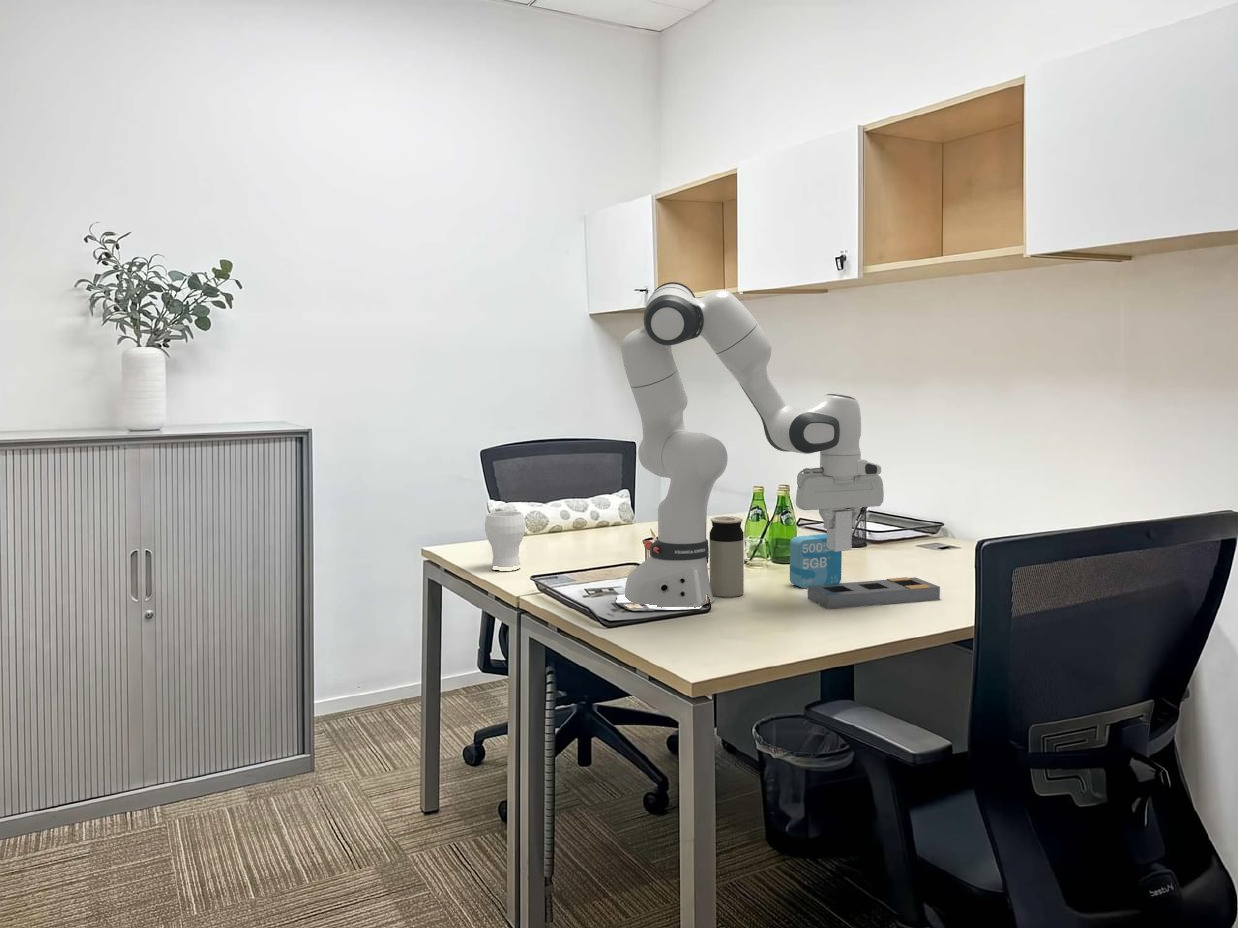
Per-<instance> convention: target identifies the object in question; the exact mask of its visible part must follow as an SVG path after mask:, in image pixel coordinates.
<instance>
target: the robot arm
mask: <svg viewBox="0 0 1238 928" xmlns="http://www.w3.org/2000/svg"><path fill="white" fill-rule="evenodd" d="M755 318H756V317H754V315H753V314H752V313H751V312H750V311H749V310H748V308H747V307H746V306H745V305H744V304H743V303H742V302H741V301H740V300H739V299H738V298H737V297H736V296H735V295H734V294H732V292H730V291H728V290H725V289H718V290H713V291H711V292H709V293H707V294H706V295H704V296H703V297H696V296H695V294H694V292H693V290H691V289H690V288H689V287H688V286H686V284H683V283H681V282H677V281H671V282H666V283H665V282H664V283H663V284H661V285H659V286H658V287H657V288H655V290H654V291H653V292H652V294H651V295H650V296H649V298H648V300H647V302H646V304H645V310H644V313H643V321H642V322H643V326H641V327H640V328H637V329H635V330H632V331H631V332H630V333H628V334H627V335H626V336H625V337H624V338H623V340H622V342H621V346H620V350H621V357H622V361H623V366H624V370H625V374H626V378H627V380H628V384H629V386H630V390H631V391H632V392H631V393H632V395H633V397H634V401H635V403H636V406H637V409H638V412H639V415H640V416H639V417H640V420H641V425H642V426H641V428H642V440H641V442H640V443H639V446H638V454H637V455H638V459H639V462H640V464H641V466H642V467H643V468H644V469H645V470H647V471H648V472H650V473H652V474H653V475H656V476H658V477H660V478H668V479H670V480H669V481H670V483H669V488H668V491H667V494H666V497H665V498H664V499H663V500H662V501H661V502H660V503H659V505H658V507H657V539H656V540H655V541H654V542H652V541H650V540H645V541H644V543H643V548H645V550H647V551H649V555H650V556H649V557H648V558H647V559H645V560H644V561H643V562H642V563H641V564H639V565H638V566H637V567H636V568H634V569H633V570H632V571H630V572H629V573H628V574H627V578H626V581H625V587H624V588H625V589H624V593H625V597H626V598H627V599H628V600H629V601H631V602H633V603H637V604H649V605H657V607H661V608H662V607H694V608H696V607H700V606H701V602H702V600H703V599H704V598H705V597H706V595H707V594H708V597H709V599H710V601H711V603H710V604H712V603H713V602H714V601H715V598H714V595H712V592H711V587H710V575H709V570H708V564H709V559H710V545H709V540H708V539H707V518H708V517H707V514H708V513H707V512H708V503H709V500H710V495H711V492H712V489H713V487H714V484H715V483H716V482H717V480H718V479H719V478H720V477H721V476H722V475H723V474H724V472H725V471H726V468H727V465H728V460H729V459H728V451H727V449H726V446H725V445H724V443H723V442H722V441H721V440H719V439H717V438H716V437H713V436H711V435H709V434H706V433H702V432H692V431H688V430H687V428H686V427H685V424H684V411H685V410H686V408H687V406H688V403H689V400H688V396H687V393H686V390H685V388H684V384H683V382H682V379H681V376H680V373H679V370H678V367H677V365H676V362H675V359H674V356H673V352H672V351H673V350H672V346H674V345H675V346H676V345H677V344H682V343H684V342H687V341H689V340H693V339H696V338H698V337H699V336H701V337H702V338H703V339H704V340H705V341H706V342H707V343H708V344H709V346H710V348H711V349H712V351H713V353H715V355H716V356H717V358H719V360H720V361H721V363H722V364H723V365H724V366H725V368H726V369H727V371H729V372H730V374H731V375H732V376H733V378H735V380H736V381H737V383H738V384H739V386H740V387H741V388H742V390H743V392H744V393H745V395H746V397H747V398H748V400H749V401H750V402H751V404H752V407H754V409H755V411H756V412H757V413H758V415H759V417H760V419H761V422H762V425H763V430H764V435H765V437H766V440H767V442H768V443H769V445H770V446H771V447H773V448H774V449H775V450H777V451H781V452H792V453H796V454H804V455H809V454H810V455H811V454H814V453H818V452H819V453H820V454H819V467H812V468H811V467H810V468H809V467H806V468H803V469H801V471H799V472H798V474H797V475H796V483H797V487H796V488H797V489H796V495H795V504H796V506H797V508H798V509H799V510H803V511H817V510H818V513H819V515H820V517H821V519H822V521H823V529H825V530H827V529H832V528H833V521H831V520H829V518H828V516H827V514H829V509H839V508H846V509H849V510H851V511H852V528H855V527H856V520H857V519H858V517H859V515H860V513H861V508H871V507H872V508H873V507H874V508H875V507H881V506H882V505H883V502H884V500H885V499H884V498H885V497H884V496H885V495H884V493H885V492H884V481H883V478H882V477H881V476H880V475H881V473H882V466H881V465H880V464H878V463H877V464H876V463H874V462H871V461H868V460H865V459H862V458H861V455H862V454H861V453H862V452H861V447H860V439H861V436H862V418H861V417H862V416H861V409H860V408H861V407H860V404H859V401H858V400H856V398H855V397H852V396H850V395H843V394H838V393H827V394H824V396H823V397H822V398H821V399H819V400H817V402H815V403H813V404H812V405H809V406H806V407H804V408H802V409H797V408H794V407H792V406H791V405H789V404H787V403H786V402H785V400H784V398H782V396H781V393H779V391H778V390H777V388H776V387H775V385H774V383H773V382H772V380H771V378H770V377H769V374H768V371H767V367H768V366H767V365H769V362H770V359H771V356H772V346H771V344H770V341H769V339H768V337H767V335H766V333H765V331H764V329H763V328H762V327H761V325H760V324H759V323H758V321H757V320H756V319H755Z"/></svg>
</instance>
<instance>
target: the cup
mask: <svg viewBox="0 0 1238 928" xmlns="http://www.w3.org/2000/svg"><path fill="white" fill-rule="evenodd" d="M525 532H526V521H525V517H524V514H523V512H521V511H515V510H501V511H492V512H489V513H486V517H485V522H484V533H485V534H486V538H487V541H488V543H489V544H490V546H491V550H492V563H491V566H492V565H493V566H498V567H513V566H518V565H520V566H521V562H520V557H519V553H520V552H519V551H520V545H521V543H522V541H523V539H524V535H525Z"/></svg>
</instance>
